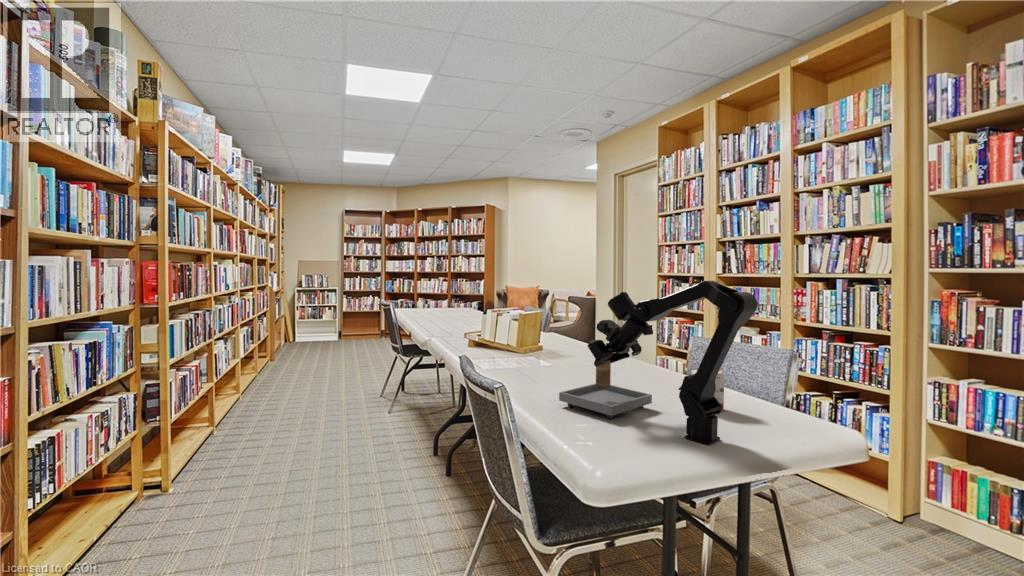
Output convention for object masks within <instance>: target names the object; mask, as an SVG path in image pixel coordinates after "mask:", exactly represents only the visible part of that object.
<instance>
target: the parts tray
mask: <svg viewBox="0 0 1024 576" xmlns="http://www.w3.org/2000/svg"><path fill="white" fill-rule="evenodd" d="M652 399H653V394H650V393H646V392H642V391H638V390H634V389H633V390H632V389H630V388H625V387H621V386H618V385H612V384H610V387H609V388H599V387H596V383H592V384H588V385H584V386H579V387H575V388H572V389H568V390H563V391H559V393H558V400H559V402H563V403H567V406H568V407H569V408H571V407H574V406H577V407H579V408H583V409H587V410H590V411H593V412H597V413H599V414H600V413H601V414H603V415H606V418H607V419H610V420H611V419H613V418H614V416H616V415H619V414H623V413H624V412H628V411H631V410H634V409H638V410H641V409H643V408H644V406H647V405H650V404H653V400H652Z"/></svg>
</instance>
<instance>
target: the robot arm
mask: <svg viewBox="0 0 1024 576" xmlns="http://www.w3.org/2000/svg"><path fill="white" fill-rule="evenodd" d="M705 299H706V300H708V301H709V302H710V303H711V304H712V305H714V306H716V307H717V308H718V311H717V319H718V323H717V326H716V329H715V331H714V333H713V335H712V337H711V340H710V342H709V344H708V346H707V349H706V351H705V353H704V355H703V357H702V360H701V361H700V364H699V366H698V368H697V369H696V370H697V372H696V373H695V374H693V375H691V374H690V375H685V376H684V378H683V380H682V383H681V385H680V387H679V388H678V391H679V394H678V399H680V402H681V404H682V407H683V410H684V415H685V416H686V417H687V418H686V425H685V426H686V431H685V433H686V435H684V439H687V440H690V441H694V442H696V443H699V444H703V445H707V446H709V445H710V446H711V444H713V443H715V442H718V441H721V437H720V436H718V425H719V424H718V423H719V422H718V420H719V419H718V418H719V416H717V415H720V414H721V413H722V412H721V411H722V408H723V409H724V407H722V406H721V404H720V403H719V402H718V400H717V399H716V398H715V397H714V394H715V390H716V385H715V379H716V376H717V374H718V372H719V371H720V370H721V368H722V366H723V363H724V362H725V359H726V357H727V355H728V353H729V352H730V348H731V346H732V345H733V343H734V340H735V338H736V336H737V335H738V332H739V331H740V330H741V328H743V327H744V326H745V324H746V323H748V322H749V321H750V319H751V318H752V316H753V315H754V314H755V312H756V311H757V309H758V306H759V305H758V303H759V302H758V300H757V298H756V297H755V295H754V294H752V293H751V292H748V291H739V290H737V289H734V288H731V287H728V286H726V285H723V284H721V283H719V282H717V281H715V280H702V281H700V282H699V283H697V284H694V285H691V286H690V287H687V288H684V289H682V290H680V291H679V290H678V291H676V292H674V293H672V294H669V295H667V296H664V297H660V298H659V297H658V298H654V299H653V298H651V299H647V300H646V299H645V300H641V301H638V302H637V303H636V304H635V303H634V301H633V300H632V298H631V297H630V295H629V294H628V292H626V291H621V292H620V293H619V294H617V295H616V296H614V297H612V298H610V300H608V301H607V306H608V308H609V309H610V311H611V312H612V313H613V315H614V316H615V318H616V319H617V320H618V321H623V322H624V323H623V324H622V325H621V326H620V324H618V323H616V322H615V321H613V320H612V319H601V320H600V321H598V323H596V330H597V331H598V332H600V333H601V334H603V335H604V336H606V337H605V340H606V341H607V343H605V342H604V340H602V339H595V340H594V339H593V340H590V341H589V342H588V343H587V348H588V350H589V351H590V352H591V354H592V356H593V358H594V362H593V365H594V367H595V368H596V366H599V365H601V364H604V363H606V362H608V361H611V364H613V363H616V362H620V361H622V360H625V359H628V358H630V357H631V356H632V357H635V356H639V355H640V354H641V352H642V346H641V344H640V343H639V341H638V339H639V338H640V337H641V336H642V335H644V336H650V335H654V331H653V325H650V324H649V323H648V322H654V321H655V322H657V321H660V320H662V319H664V318H665V317H667V316H668V315H670V313H672V312H673V311H675V310H677V309H680V308H682V307H686V306H688V305H692V304H694V303H697V302H699V301H704V300H705ZM630 349H631V350H630ZM630 351H632V352H631V353H629V352H630ZM630 354H631V355H630ZM610 356H611V358H610Z"/></svg>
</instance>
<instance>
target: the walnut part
mask: <svg viewBox="0 0 1024 576" xmlns="http://www.w3.org/2000/svg"><path fill="white" fill-rule="evenodd" d="M610 358H611V356H610ZM611 364H612V363H611V361H608V362H606V363H604V364H601V365H599V366H596V367H595V384H596V387H599V388H609V387H610V385H611V373H612V372H611V368H612V367H611Z"/></svg>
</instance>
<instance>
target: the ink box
mask: <svg viewBox="0 0 1024 576" xmlns="http://www.w3.org/2000/svg"><path fill="white" fill-rule="evenodd" d="M697 370H698V369H695V370H693V369H692V370H691V373H690V375H693V374H695V373H696V372H697ZM715 385H716V390H715V394H714V397H715V398H716V399H717V400H718V402H719V403H720V404H721V406H722V407H723V408H722V412H724V406H725V405H724V404H725V403H724V400H725V374H724V372H722V371H720V370H719V372H718V374H717V376H716V379H715ZM722 412H721V413H722Z"/></svg>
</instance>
